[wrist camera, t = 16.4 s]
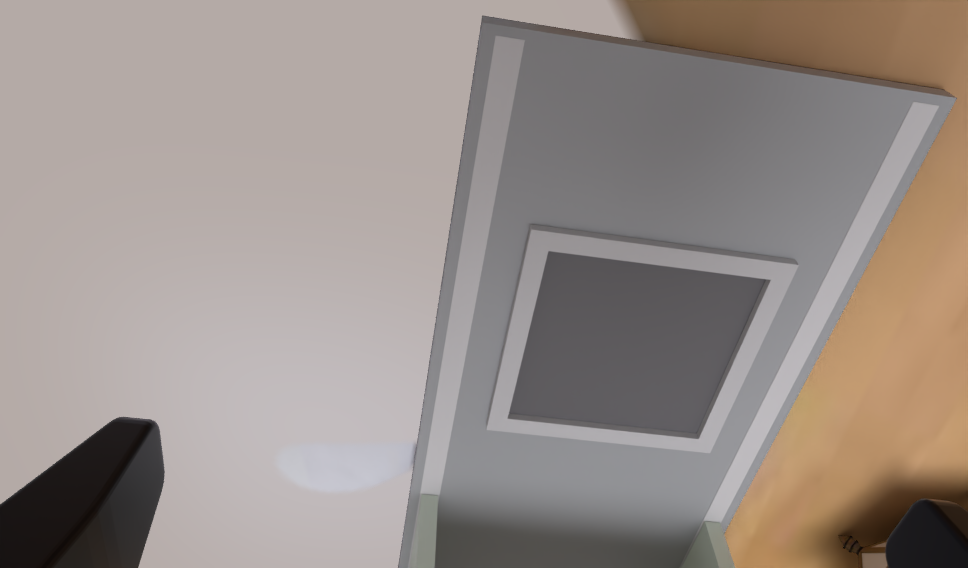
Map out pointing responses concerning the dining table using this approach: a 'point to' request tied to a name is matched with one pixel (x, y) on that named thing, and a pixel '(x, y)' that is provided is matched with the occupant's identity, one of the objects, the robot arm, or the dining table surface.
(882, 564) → the game die
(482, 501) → the puzzle board
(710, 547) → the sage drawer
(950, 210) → the dining table surface
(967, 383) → the dining table surface
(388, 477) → the dining table surface
